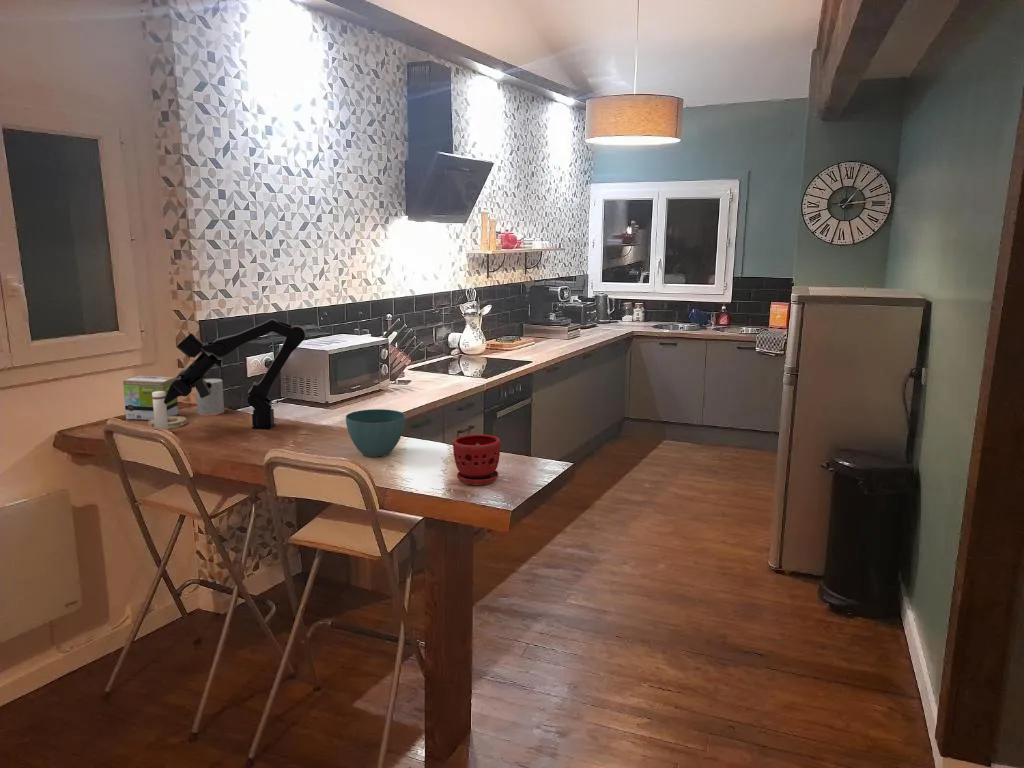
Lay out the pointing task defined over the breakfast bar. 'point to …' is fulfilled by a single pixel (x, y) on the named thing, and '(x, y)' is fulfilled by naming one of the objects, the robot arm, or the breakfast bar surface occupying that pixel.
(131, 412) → the tea box
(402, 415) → the plant pot
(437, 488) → the breakfast bar surface
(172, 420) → the bead ring
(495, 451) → the plant pot
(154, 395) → the needle peg
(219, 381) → the gray cylinder
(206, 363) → the robot arm
